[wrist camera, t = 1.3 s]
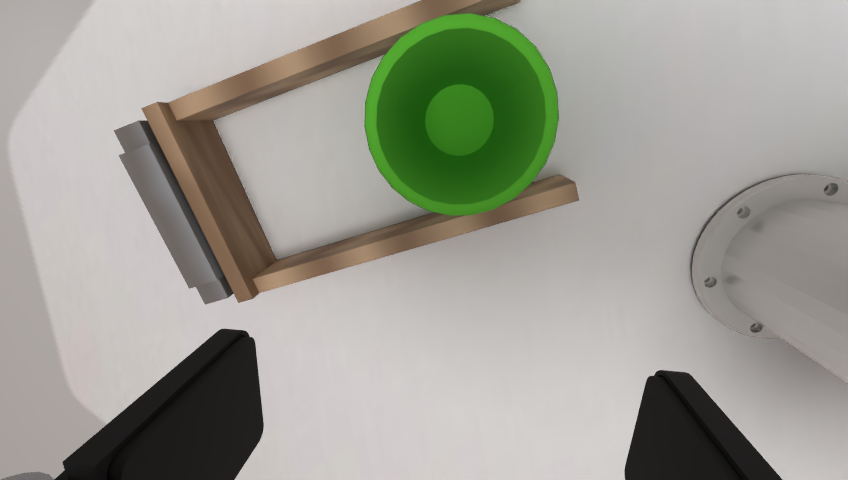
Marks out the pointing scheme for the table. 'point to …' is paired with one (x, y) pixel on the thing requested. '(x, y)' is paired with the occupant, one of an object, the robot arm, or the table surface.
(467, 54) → the cup
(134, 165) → the bay
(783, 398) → the table surface
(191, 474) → the robot arm
